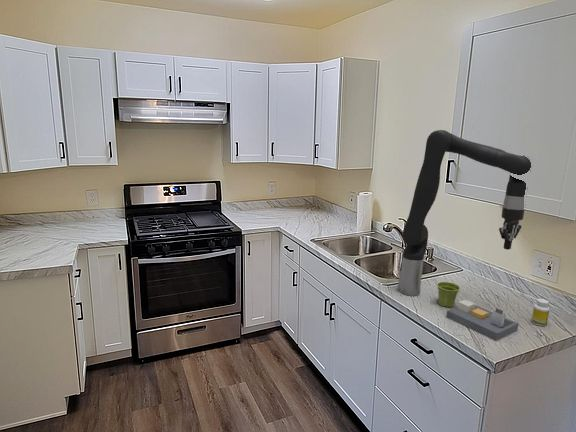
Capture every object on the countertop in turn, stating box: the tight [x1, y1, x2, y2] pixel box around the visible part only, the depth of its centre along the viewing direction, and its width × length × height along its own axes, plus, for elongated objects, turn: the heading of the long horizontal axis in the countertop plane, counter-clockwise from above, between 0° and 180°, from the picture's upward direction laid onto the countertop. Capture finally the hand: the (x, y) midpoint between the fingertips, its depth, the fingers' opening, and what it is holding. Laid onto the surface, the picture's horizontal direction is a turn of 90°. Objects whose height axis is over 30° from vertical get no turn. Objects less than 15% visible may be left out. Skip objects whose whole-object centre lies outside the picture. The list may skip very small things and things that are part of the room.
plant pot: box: [436, 281, 461, 308], centre depth 172 cm, size 9×9×9 cm
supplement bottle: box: [530, 298, 550, 327], centre depth 158 cm, size 5×5×10 cm
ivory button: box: [457, 299, 476, 313], centre depth 162 cm, size 4×4×4 cm
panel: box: [446, 304, 520, 342], centre depth 157 cm, size 21×15×3 cm
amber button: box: [471, 308, 489, 320], centre depth 157 cm, size 4×4×4 cm
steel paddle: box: [491, 307, 506, 327], centre depth 149 cm, size 4×2×6 cm, turn 33°
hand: (507, 248), depth 158 cm, fingers closed
